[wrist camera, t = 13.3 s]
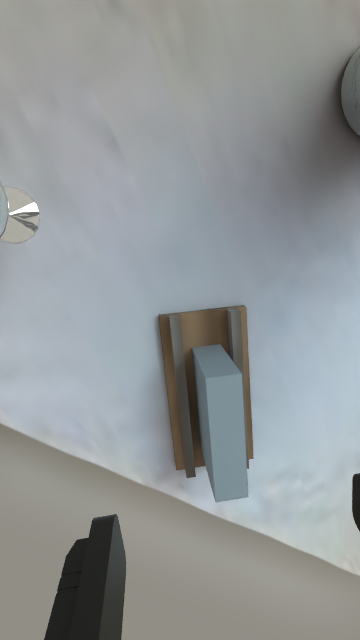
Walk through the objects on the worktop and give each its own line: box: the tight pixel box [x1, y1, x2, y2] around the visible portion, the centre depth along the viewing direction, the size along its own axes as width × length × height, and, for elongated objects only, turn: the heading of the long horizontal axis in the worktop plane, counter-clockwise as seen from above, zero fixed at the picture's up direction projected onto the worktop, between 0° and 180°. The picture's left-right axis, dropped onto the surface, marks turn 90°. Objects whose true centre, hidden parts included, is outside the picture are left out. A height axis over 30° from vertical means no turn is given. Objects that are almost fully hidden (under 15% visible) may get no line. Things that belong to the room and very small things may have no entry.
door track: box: [159, 305, 253, 478], centre depth 36 cm, size 9×18×2 cm, turn 5°
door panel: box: [192, 344, 248, 502], centre depth 32 cm, size 3×12×8 cm, turn 5°
